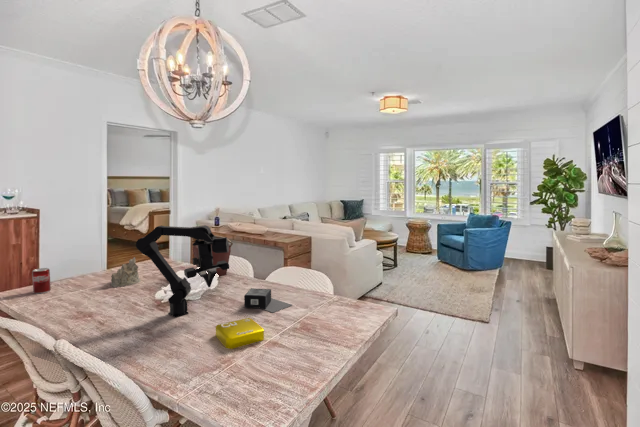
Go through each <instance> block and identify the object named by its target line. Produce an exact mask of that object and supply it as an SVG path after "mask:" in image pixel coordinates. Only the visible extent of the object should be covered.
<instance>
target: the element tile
mask: <svg viewBox="0 0 640 427" xmlns="http://www.w3.org/2000/svg"><path fill="white" fill-rule="evenodd" d="M215 337H216V338H217V339H218V341H219V342H220V343H221V344H222V345H223V347H225V349H228V350H233V349H237V348H241V347H245V346H248V345H252V344H256V343H260V342H262V341H264V340H265V329H264V328H263V327H262V326H261V325H260V324H258V322H256V321H255V320H254V319H252V318H250V317H246V318H242V319H236V320H232V321H228V322H224V323H218V324H217V325H216V326H215ZM259 341H260V342H259ZM255 342H256V343H255Z"/></svg>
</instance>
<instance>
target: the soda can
mask: <svg viewBox="0 0 640 427" xmlns="http://www.w3.org/2000/svg"><path fill="white" fill-rule="evenodd" d="M31 277H32V280H31V281H32V292H33V294H36V295H41V294H45V293H49V292H50V291H51V290H52V289H51V288H52V287H51V272H50V268H48V267H42V268H36V269H33V270H32V271H31Z"/></svg>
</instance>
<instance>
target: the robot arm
mask: <svg viewBox="0 0 640 427" xmlns="http://www.w3.org/2000/svg"><path fill="white" fill-rule="evenodd" d="M214 235H215V234H213V232H212V229H211V228H210V227H209V226H208V225H205V224H204V225H197V226H192V227H191V226H190V227H188V226H185V227H184V226H167V225H158V226H156V227H154V228H153V230H151V231H150V232H149V233H148V234H147V235H145V236H143V237H140V238H138V239H137V240H136V243H135V247H136V249H137V250H138V251H139V252H140V253H141V254H143V255H144V256H146V257H147V258H149V259H150V261H152V263H153V264H154V265H155V267H156V268H157V270H158V271H159V272H160V274H161V275H162V276H163V277H164V278H165V280H166V281H167V282H168V284H169V286H170V291H171V292H172V295H171V296H170V297H169V298H167V300H168V303H169V312H168V313H167V314H168V315H170V316H172V317H174V318H178V317H181V316H184V315H189V311H188V301H187V297H188V295H189V294H190V292H191V291H192V287H191V283H190V282H189V281H188V280H187V279H191V278H195V277H197V275H198V274H199V275H200V276H199V275H198V276H199V277H201V278H203V280H204V281H205V283H206V286H207V287H208V288H211V287H212V283H213V281H214V276H215V274H216V273H217V271H216V269H218V268H221V269H222V270H226V269H227V270H230V264H229V263H227V262H226V261H219V262H217V264H216V265H213V256H212V251H213V252H215V253H228V252H229V245H230V243H229V242H228V240H227V239H228V237H225V236H223V237H224V238H218V237H215V236H214ZM162 236H168V237H169V236H171V237H172V236H173V237H174V236H175V237H188V238H191V239H194V240H195V241H194V242H193V243H192V247H194V246H195V245H198V253H199V257H198V258H199V259H197V257H196V258H194V257H193V258H192V260H191V261H192V265H193V266H196V265H198V267H200V268H199V269H197V268H195V267H188V268H185V269H184V271H183V272H184V276H185V277H183V278H182V277H179V275H178V273H177V272H175V270H174V269H173V268H172V266H171V265H170V264H169V262H168V261H167V260H166V259H165V257H164V256H163V255H162V253H161V252H160V248H159V245H158V243H157V241H159V239H160V238H161V237H162ZM211 244H212V248H211ZM206 271H207V272H208V274H207V273H206Z"/></svg>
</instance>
